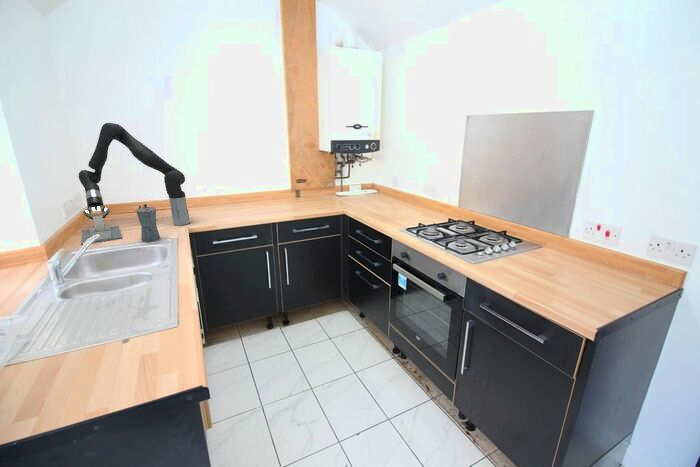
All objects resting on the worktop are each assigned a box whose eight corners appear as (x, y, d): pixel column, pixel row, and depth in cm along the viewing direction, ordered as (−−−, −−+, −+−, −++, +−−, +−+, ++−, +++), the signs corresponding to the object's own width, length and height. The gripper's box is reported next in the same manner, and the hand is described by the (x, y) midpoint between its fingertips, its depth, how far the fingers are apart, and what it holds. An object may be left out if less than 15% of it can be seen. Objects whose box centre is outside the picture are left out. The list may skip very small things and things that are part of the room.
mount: (92, 235, 189) (90, 228, 188) (110, 232, 194) (109, 226, 193) (92, 241, 180) (90, 234, 179) (111, 238, 185) (110, 231, 184)
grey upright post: (96, 233, 191) (90, 211, 187) (106, 232, 194) (101, 209, 190) (96, 235, 188) (90, 212, 184) (106, 234, 190) (101, 211, 186)
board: (82, 232, 198) (82, 230, 198) (119, 226, 208) (118, 225, 208) (81, 245, 177) (81, 243, 177) (122, 238, 187) (122, 237, 187)
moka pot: (149, 244, 178) (142, 207, 172) (134, 239, 186) (126, 203, 180) (166, 239, 186) (160, 204, 180) (151, 234, 194) (145, 200, 187)
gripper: (78, 197, 190) (83, 222, 185) (107, 194, 198) (112, 219, 192) (81, 204, 196) (86, 229, 191) (108, 201, 204) (114, 225, 198)
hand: (99, 224), depth 191 cm, fingers closed
